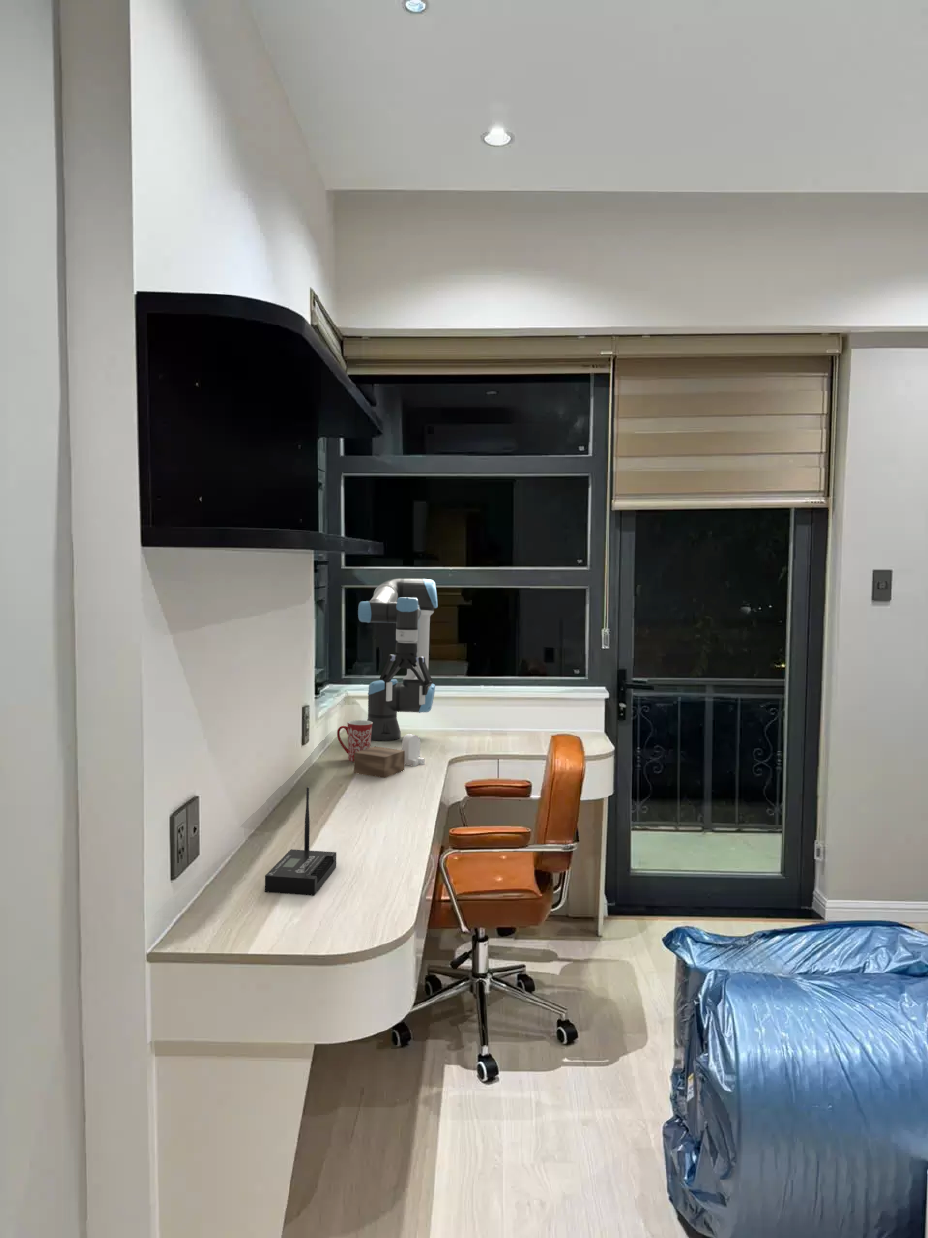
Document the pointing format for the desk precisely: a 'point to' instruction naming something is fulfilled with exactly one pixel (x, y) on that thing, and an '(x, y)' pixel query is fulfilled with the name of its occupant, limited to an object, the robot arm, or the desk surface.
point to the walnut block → (379, 761)
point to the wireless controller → (301, 868)
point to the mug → (356, 736)
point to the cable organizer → (412, 750)
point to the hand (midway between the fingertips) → (405, 702)
